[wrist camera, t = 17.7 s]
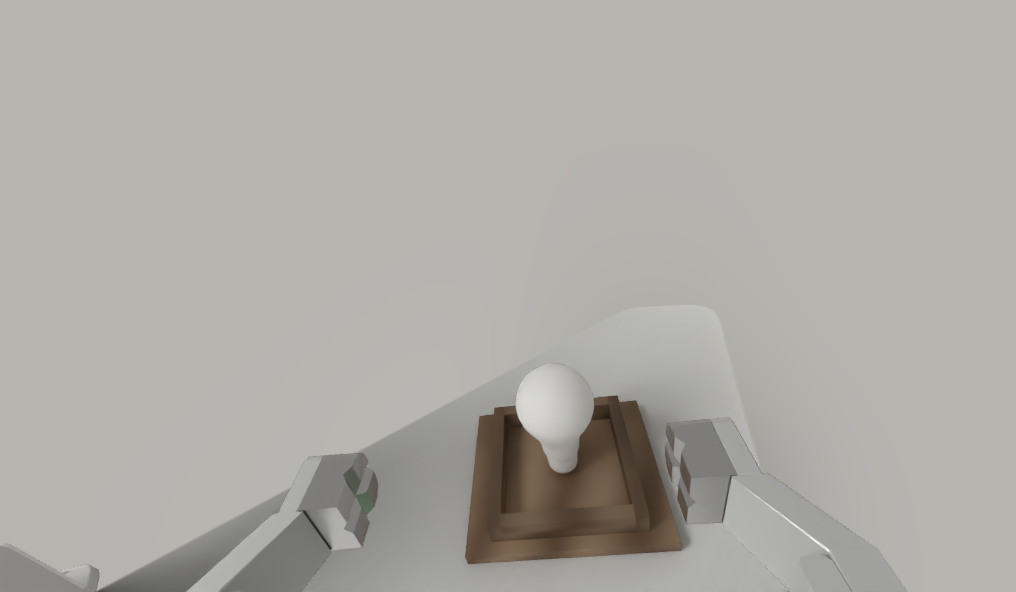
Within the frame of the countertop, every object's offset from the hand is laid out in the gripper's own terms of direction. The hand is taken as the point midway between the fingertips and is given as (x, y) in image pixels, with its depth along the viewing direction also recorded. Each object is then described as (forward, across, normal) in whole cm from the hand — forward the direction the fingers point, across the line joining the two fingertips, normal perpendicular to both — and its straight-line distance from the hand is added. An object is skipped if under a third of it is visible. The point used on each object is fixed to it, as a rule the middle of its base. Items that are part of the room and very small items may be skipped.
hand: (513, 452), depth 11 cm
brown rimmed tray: (+16, -1, +25) cm, 30 cm away
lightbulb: (+16, -1, +24) cm, 29 cm away
